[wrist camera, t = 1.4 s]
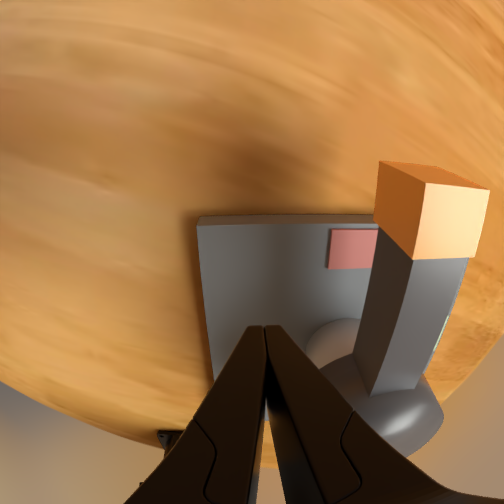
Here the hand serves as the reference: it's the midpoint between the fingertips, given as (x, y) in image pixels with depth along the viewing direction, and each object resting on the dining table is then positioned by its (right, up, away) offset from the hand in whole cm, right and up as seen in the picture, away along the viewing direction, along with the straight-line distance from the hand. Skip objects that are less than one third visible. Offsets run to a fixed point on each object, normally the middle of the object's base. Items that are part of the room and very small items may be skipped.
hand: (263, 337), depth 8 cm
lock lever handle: (+6, -2, +6) cm, 9 cm away
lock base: (+6, -4, +14) cm, 15 cm away
